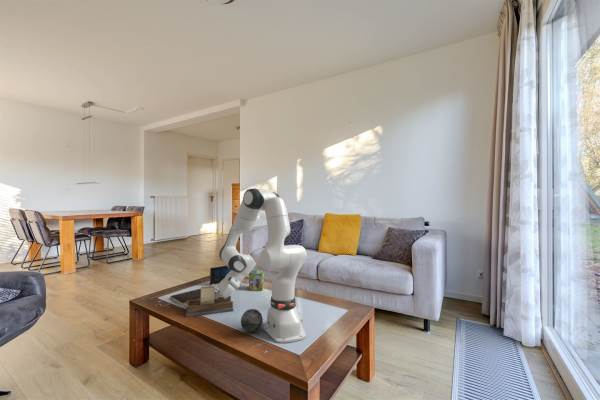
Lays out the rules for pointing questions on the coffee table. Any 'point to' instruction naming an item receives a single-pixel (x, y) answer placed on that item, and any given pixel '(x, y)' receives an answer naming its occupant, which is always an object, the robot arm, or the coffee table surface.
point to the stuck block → (207, 295)
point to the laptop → (218, 275)
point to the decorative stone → (251, 320)
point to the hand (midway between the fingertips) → (215, 298)
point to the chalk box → (256, 280)
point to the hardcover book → (187, 296)
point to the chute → (208, 307)
